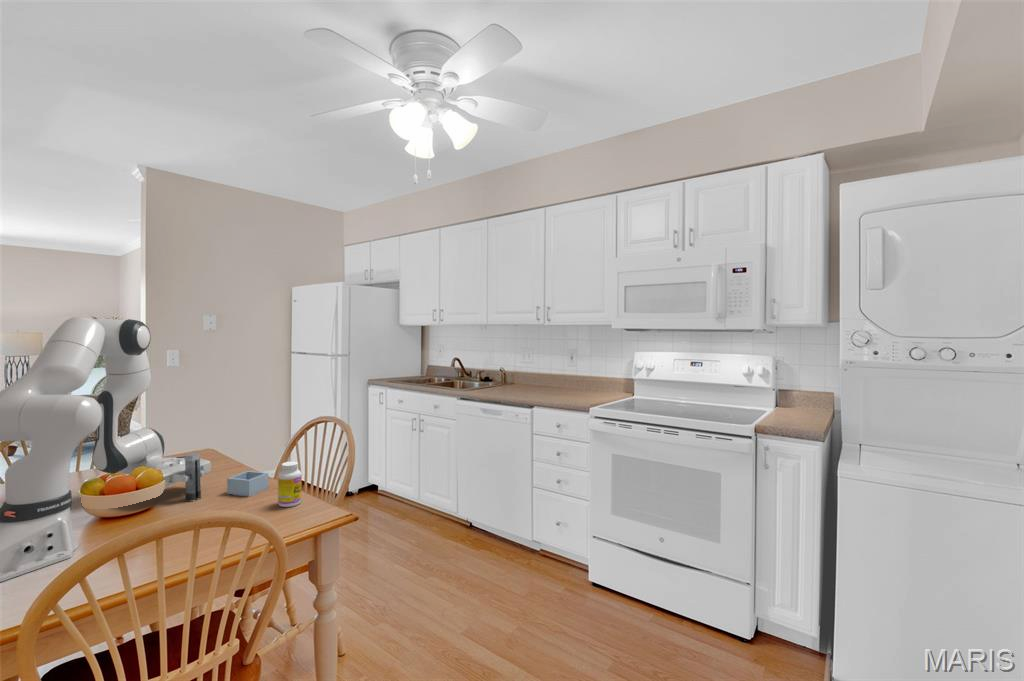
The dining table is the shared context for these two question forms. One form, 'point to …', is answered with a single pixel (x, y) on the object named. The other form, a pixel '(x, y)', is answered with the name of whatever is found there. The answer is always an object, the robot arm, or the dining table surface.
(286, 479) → the supplement bottle
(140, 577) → the dining table surface
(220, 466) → the dining table surface
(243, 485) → the blue-gray square tray
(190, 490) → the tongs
